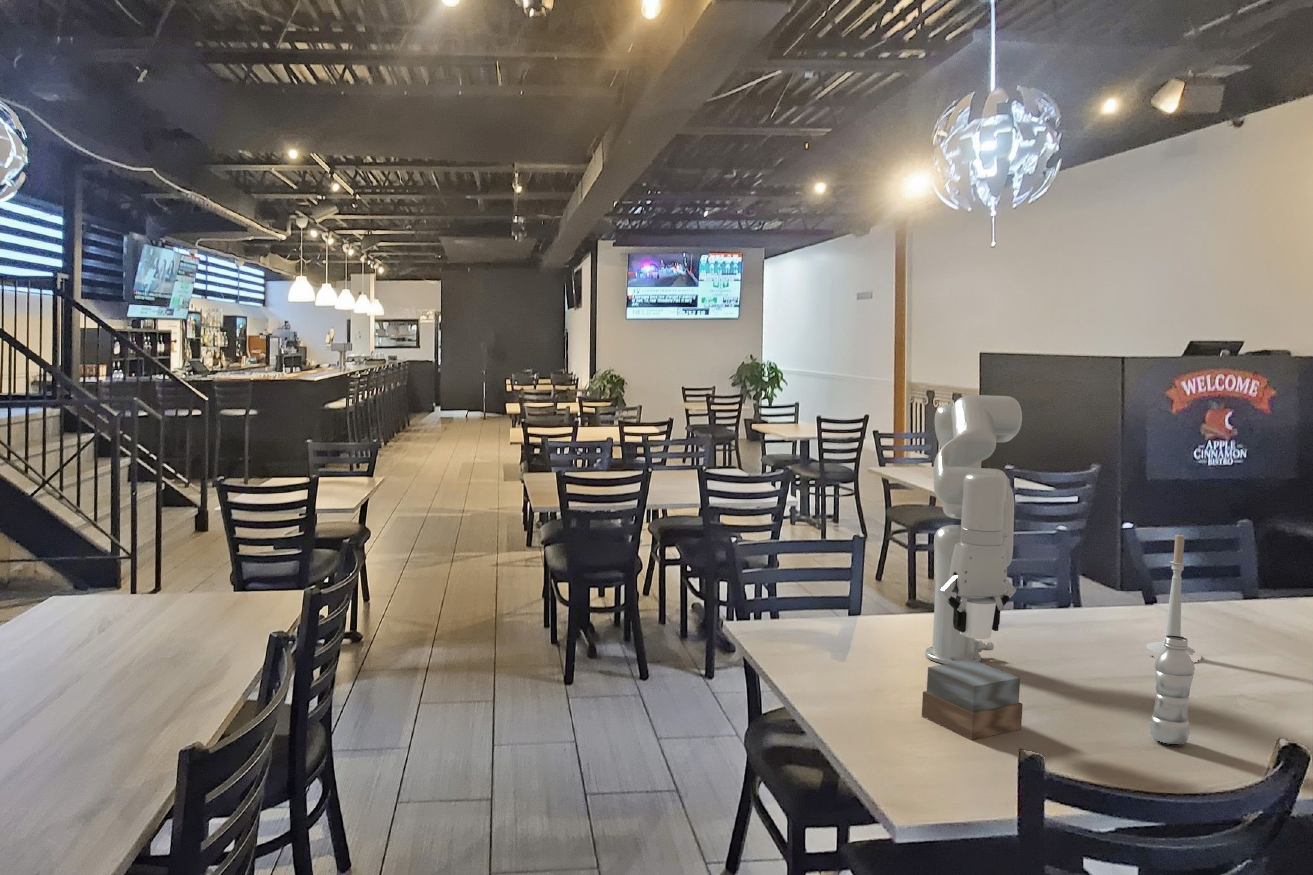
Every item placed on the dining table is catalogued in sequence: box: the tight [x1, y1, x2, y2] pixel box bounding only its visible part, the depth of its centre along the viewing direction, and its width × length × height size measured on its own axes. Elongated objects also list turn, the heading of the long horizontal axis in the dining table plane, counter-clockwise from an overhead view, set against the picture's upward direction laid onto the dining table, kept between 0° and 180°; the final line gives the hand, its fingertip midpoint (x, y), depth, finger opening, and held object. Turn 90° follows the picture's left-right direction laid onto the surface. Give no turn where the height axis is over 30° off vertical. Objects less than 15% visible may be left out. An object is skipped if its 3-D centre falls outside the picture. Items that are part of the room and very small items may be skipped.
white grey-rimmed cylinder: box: [960, 597, 996, 640], centre depth 187 cm, size 7×7×7 cm
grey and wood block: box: [921, 660, 1024, 741], centre depth 189 cm, size 13×13×10 cm
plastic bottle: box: [1149, 635, 1196, 745], centre depth 181 cm, size 6×7×20 cm
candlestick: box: [1145, 534, 1196, 655], centre depth 237 cm, size 13×13×30 cm
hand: (975, 628), depth 187 cm, fingers closed on white grey-rimmed cylinder, 6 cm apart
